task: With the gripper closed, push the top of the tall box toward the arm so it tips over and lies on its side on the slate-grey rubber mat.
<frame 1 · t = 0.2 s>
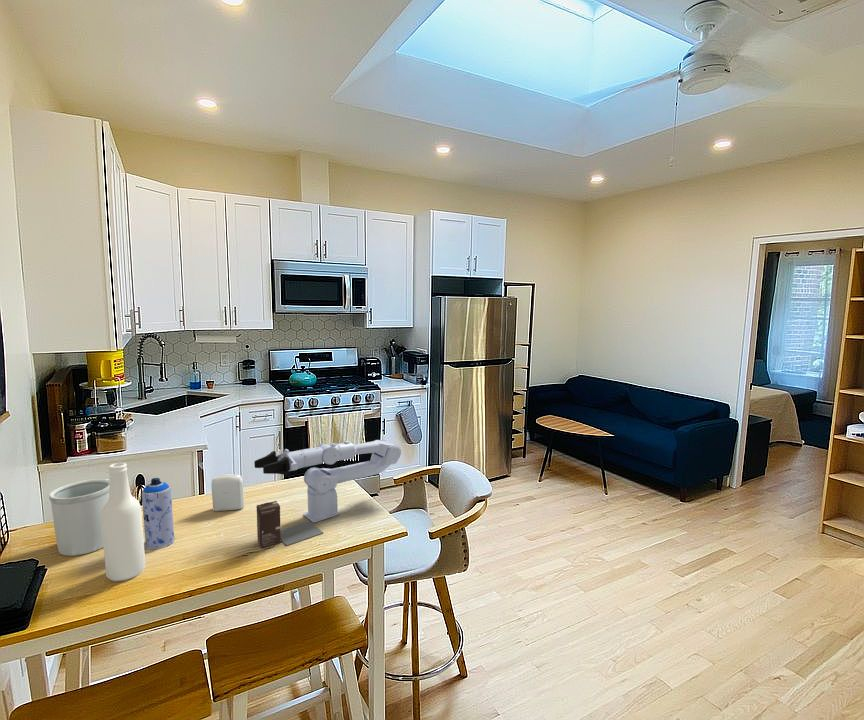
hand: (259, 467, 143), 22 cm above the table, tool horizontal, fingers open, 7 cm apart
mat: (298, 533, 146), on the table
aerosol can: (160, 543, 140), on the table
photo printer: (228, 509, 163), on the table
alcohol: (126, 573, 125), on the table
box: (269, 543, 140), on the table
utensil holder: (86, 544, 139), on the table
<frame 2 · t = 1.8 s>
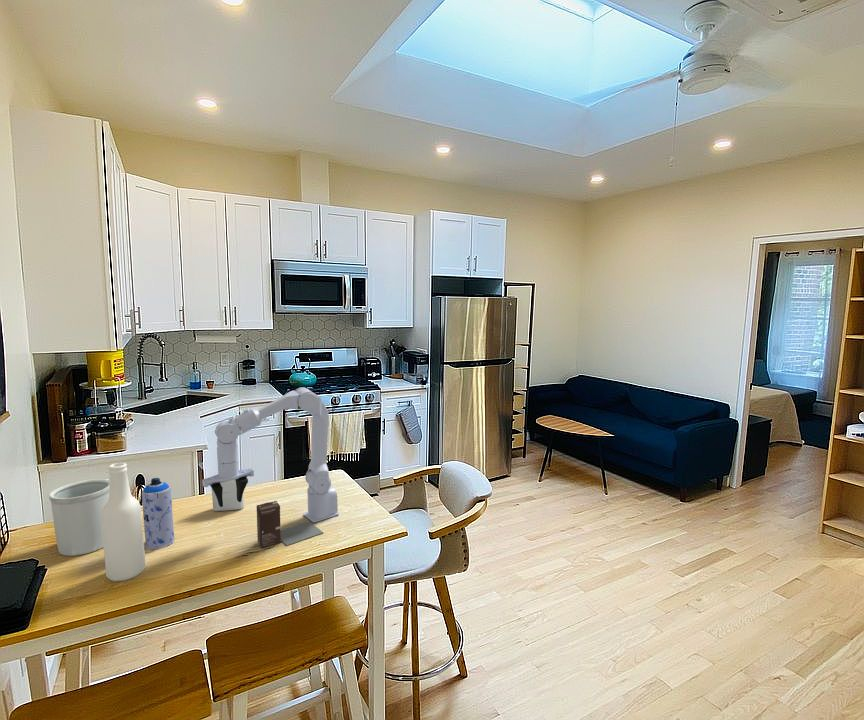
hand: (230, 503, 143), 10 cm above the table, tool pointing down, fingers open, 5 cm apart
nothing on the table moved.
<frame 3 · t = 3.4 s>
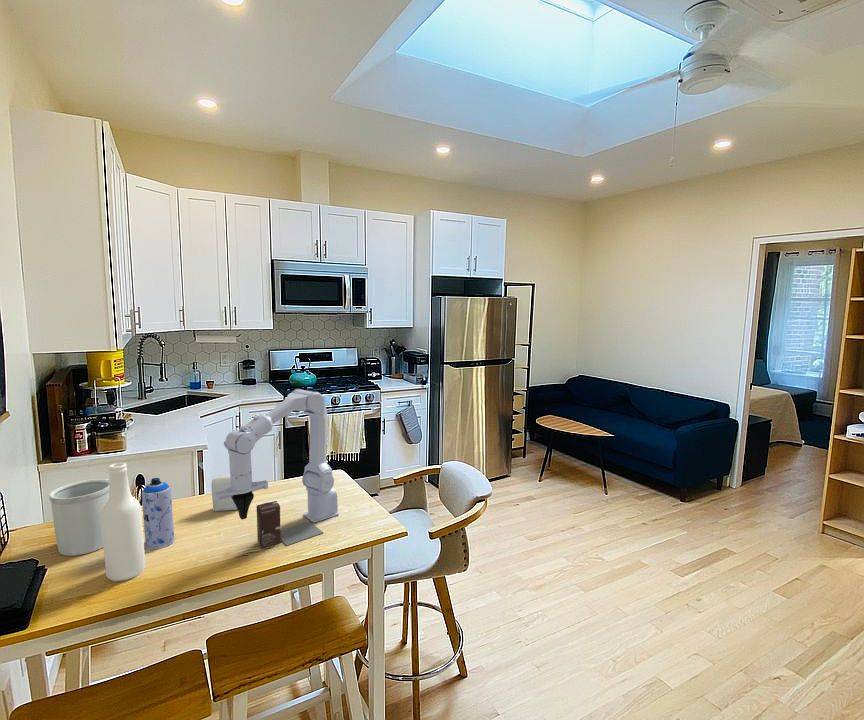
hand: (243, 517, 134), 10 cm above the table, tool pointing down, fingers closed
nothing on the table moved.
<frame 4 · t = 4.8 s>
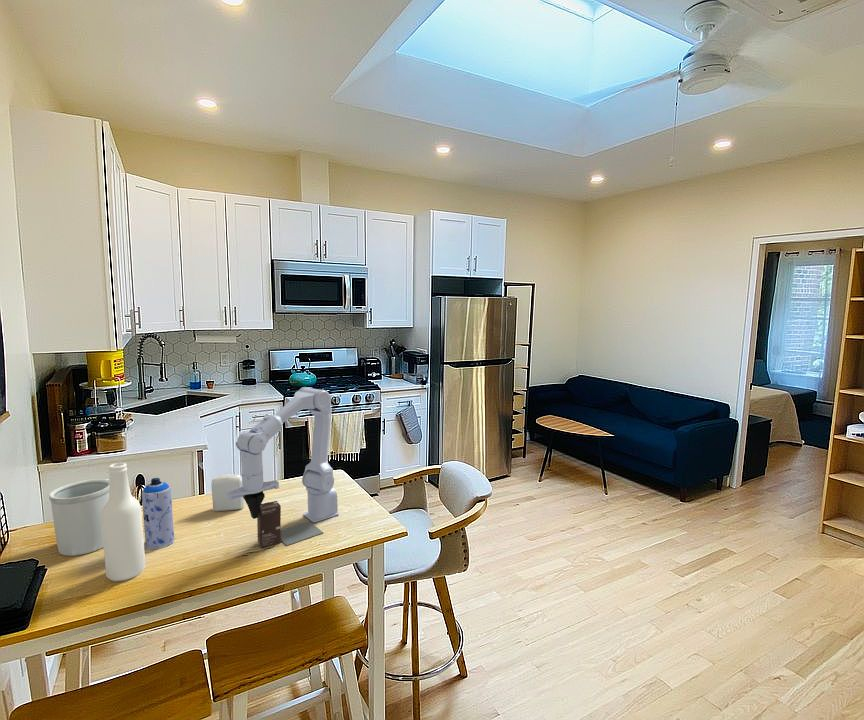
hand: (254, 517, 136), 9 cm above the table, tool pointing down, fingers closed
box: (269, 543, 140), on the table, touching gripper
everything else where it was.
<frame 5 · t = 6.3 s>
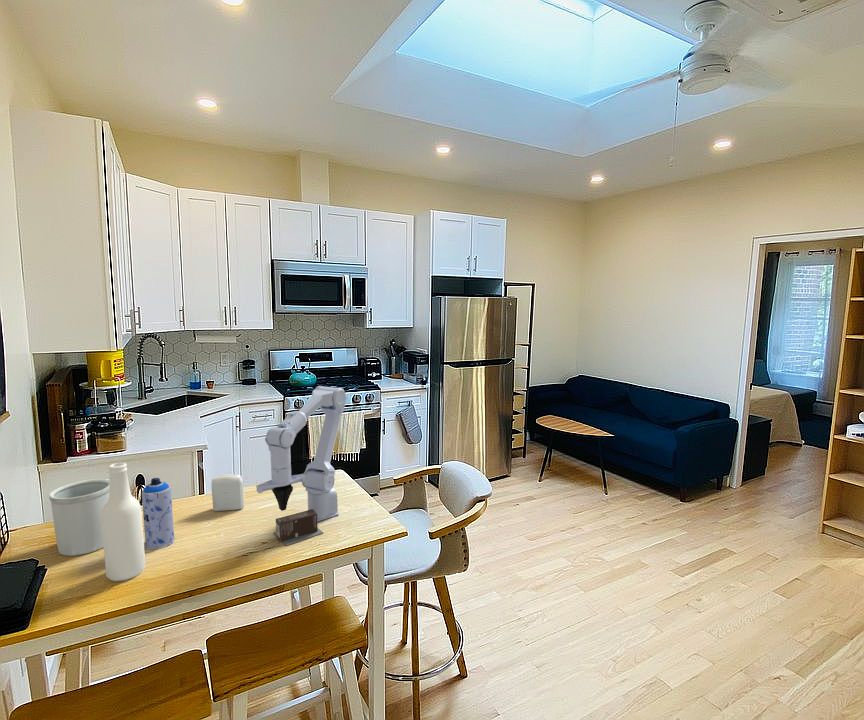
hand: (282, 509, 142), 9 cm above the table, tool pointing down, fingers closed
box: (276, 531, 141), point 3 cm above the table, touching mat
everything else where it was.
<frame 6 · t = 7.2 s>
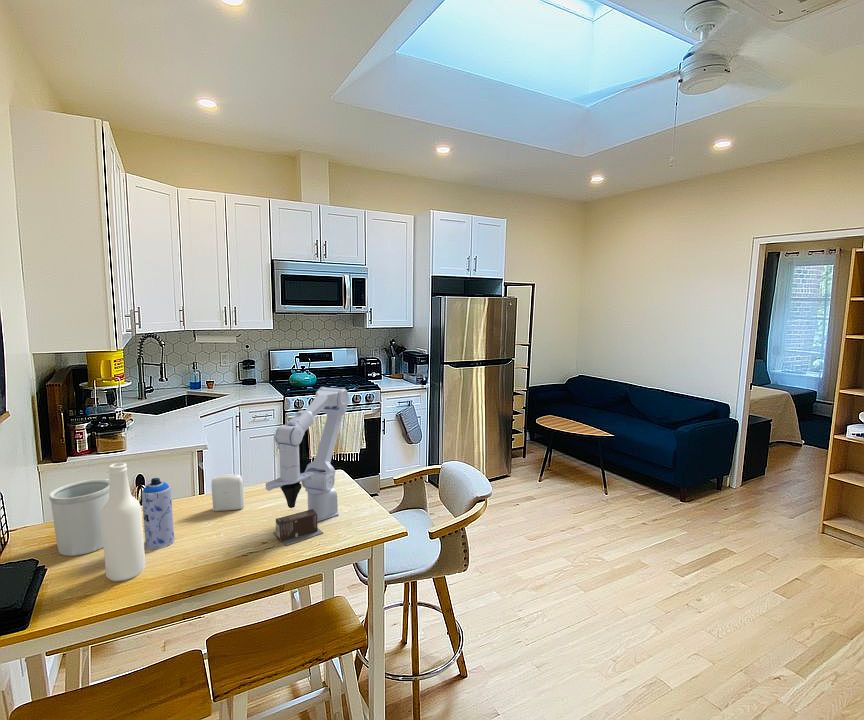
hand: (291, 506, 144), 9 cm above the table, tool pointing down, fingers closed
nothing on the table moved.
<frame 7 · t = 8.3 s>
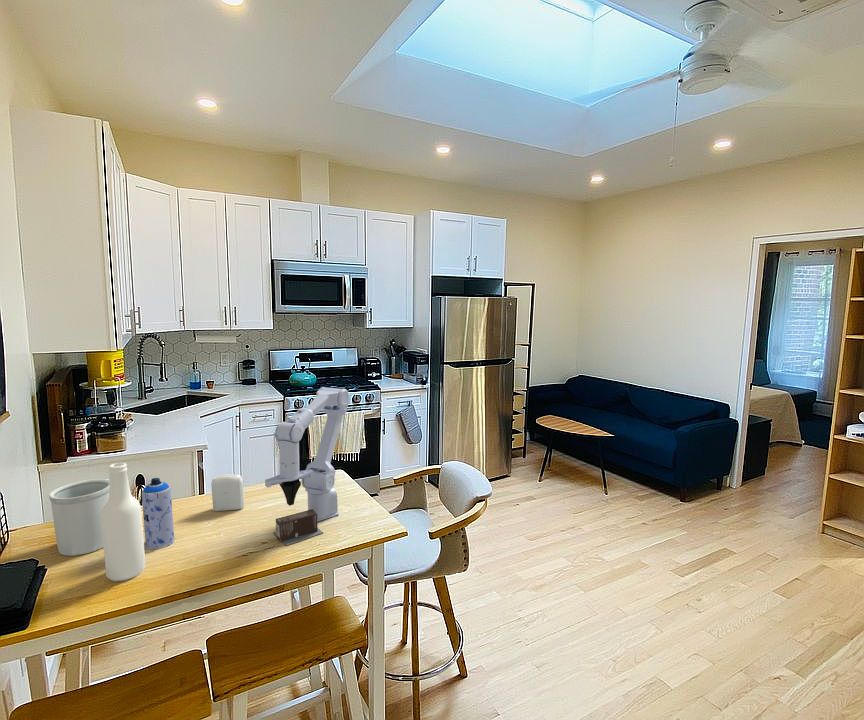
hand: (290, 504, 143), 10 cm above the table, tool pointing down, fingers closed
nothing on the table moved.
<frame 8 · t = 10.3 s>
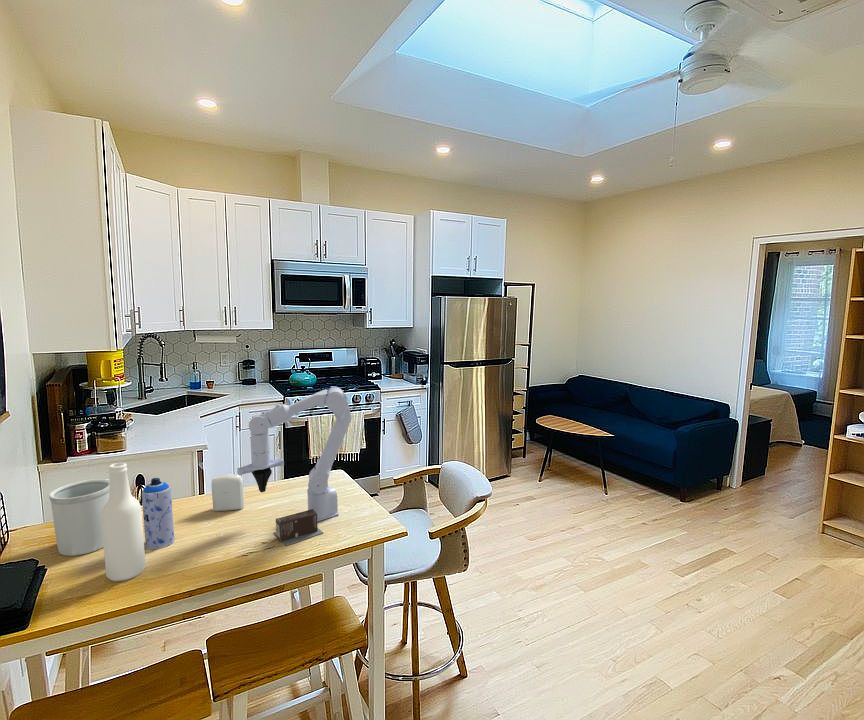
hand: (262, 491, 153), 10 cm above the table, tool pointing down, fingers closed
nothing on the table moved.
at the end: box tilted 89°; box inside the target area (0.3 cm from its centre), point 3.2 cm above the table; box touching mat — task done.
